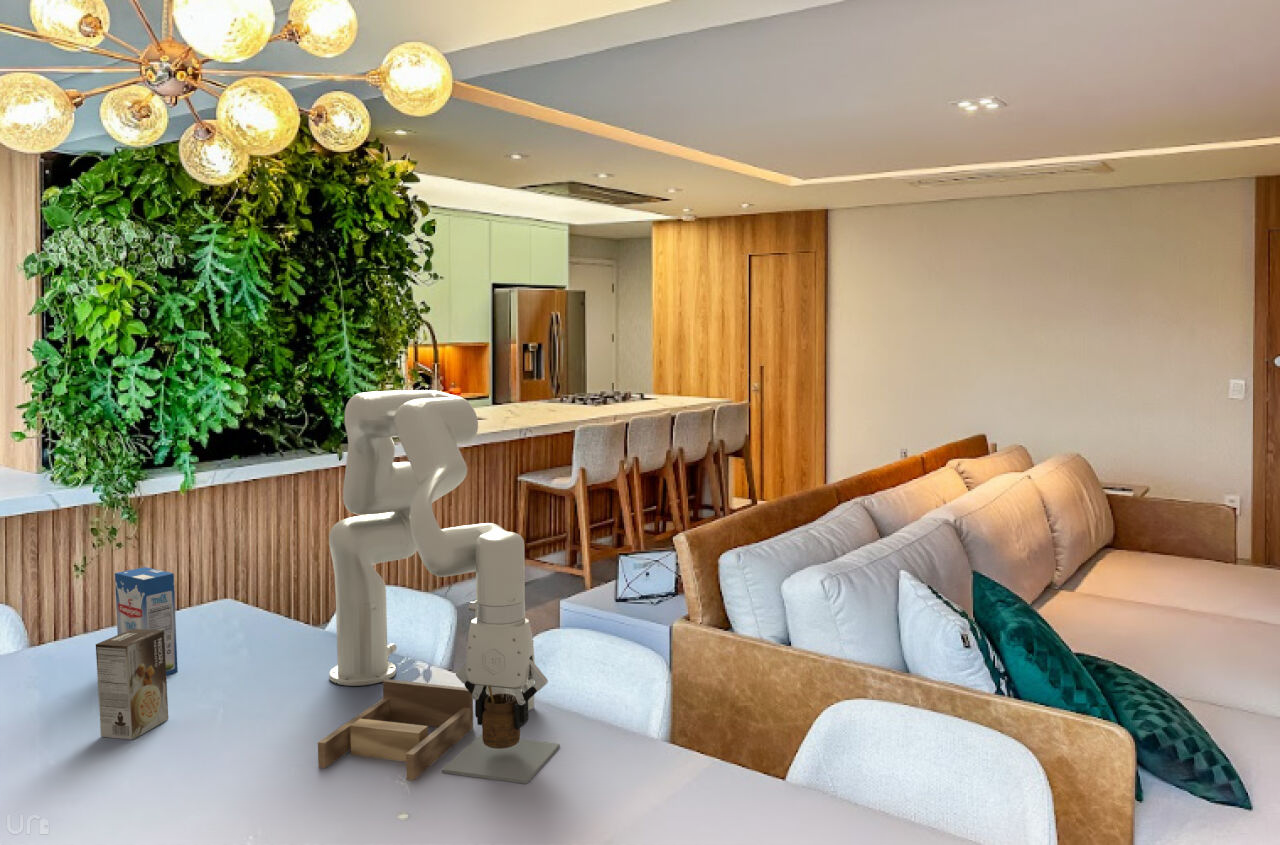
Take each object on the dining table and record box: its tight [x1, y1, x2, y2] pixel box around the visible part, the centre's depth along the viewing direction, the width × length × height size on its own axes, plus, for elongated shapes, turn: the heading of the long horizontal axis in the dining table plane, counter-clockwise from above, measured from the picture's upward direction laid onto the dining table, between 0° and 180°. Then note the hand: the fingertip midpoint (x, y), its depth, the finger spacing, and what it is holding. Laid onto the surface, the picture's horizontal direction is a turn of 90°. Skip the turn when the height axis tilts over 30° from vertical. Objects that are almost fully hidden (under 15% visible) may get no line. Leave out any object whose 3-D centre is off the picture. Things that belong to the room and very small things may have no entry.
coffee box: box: [95, 629, 169, 741], centre depth 168 cm, size 9×6×16 cm
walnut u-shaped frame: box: [317, 678, 474, 781], centre depth 161 cm, size 21×16×7 cm
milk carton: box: [114, 566, 179, 677], centre depth 196 cm, size 10×6×20 cm, turn 58°
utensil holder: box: [481, 686, 521, 749], centre depth 156 cm, size 6×6×12 cm
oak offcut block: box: [350, 719, 429, 762], centre depth 158 cm, size 3×12×5 cm, turn 75°
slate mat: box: [441, 733, 561, 785], centre depth 157 cm, size 14×14×1 cm
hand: (501, 723), depth 156 cm, fingers closed on utensil holder, 5 cm apart
